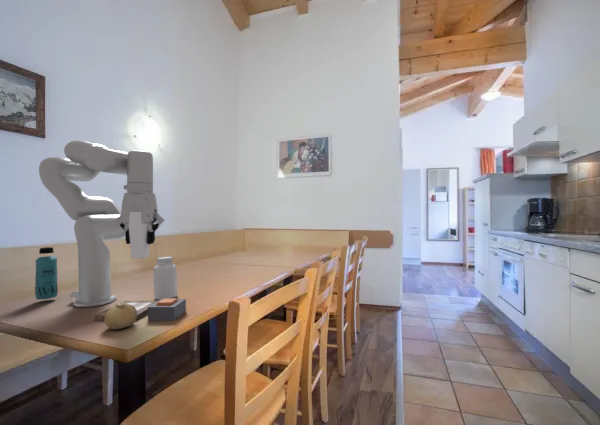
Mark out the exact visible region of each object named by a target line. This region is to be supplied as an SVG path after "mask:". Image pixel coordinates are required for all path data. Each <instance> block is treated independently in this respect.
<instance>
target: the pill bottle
mask: <svg viewBox="0 0 600 425" xmlns="http://www.w3.org/2000/svg"><path fill="white" fill-rule="evenodd" d="M156 259H157V260H156V264H157V265H155V266H154V267H153V296H154V300H161V299H172V298H176V297H177V296H178V285H177V284H178V278H177V277H178V275H177V274H178V272H177V266H176V265H175V264H174V263H173V261H174V259H173V257H172V256H164V257H157V258H156Z"/></svg>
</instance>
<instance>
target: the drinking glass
mask: <svg viewBox="0 0 600 425" xmlns="http://www.w3.org/2000/svg"><path fill="white" fill-rule="evenodd" d="M128 227H129V237H130V244H129V246H130V258H132V259H144V258H148V257H149V256H150V245H151V244H147V232H149V230H148V227H147V223H146V224H143V223H141V212H130V216H129V223H128Z"/></svg>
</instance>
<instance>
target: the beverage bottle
mask: <svg viewBox="0 0 600 425" xmlns="http://www.w3.org/2000/svg"><path fill="white" fill-rule="evenodd" d="M53 253H54V247H51V246H50V247H49V246H46V247H45V246H44V247H40V248H39V255H43V256H40V257H39V256H38V258H36V259H35V260H34V261H35V283H34V285H35V286H34V289H35V290H34V294H35V295H34V296H35V299H36V300H49V299H53V298H56V297H58V294H59V292H58V291H59V289H58V279H59V278H58V258H57V257H56V256H55V255H47V256H44V255H45V254H53Z"/></svg>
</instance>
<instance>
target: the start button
mask: <svg viewBox="0 0 600 425" xmlns="http://www.w3.org/2000/svg"><path fill="white" fill-rule="evenodd" d="M177 299H178V298H176V297H174V298H170V299H162V300H161V301H159V302H157V306H164V305H173V304H175V303H176V302H177Z"/></svg>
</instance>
